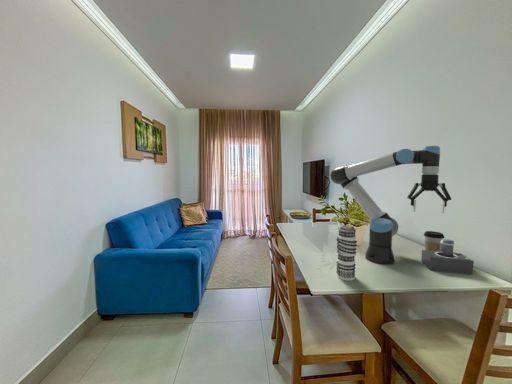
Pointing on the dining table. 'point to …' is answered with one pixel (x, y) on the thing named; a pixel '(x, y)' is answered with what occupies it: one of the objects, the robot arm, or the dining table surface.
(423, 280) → the dining table surface
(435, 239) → the coffee cup
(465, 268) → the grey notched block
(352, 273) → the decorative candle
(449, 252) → the lens
